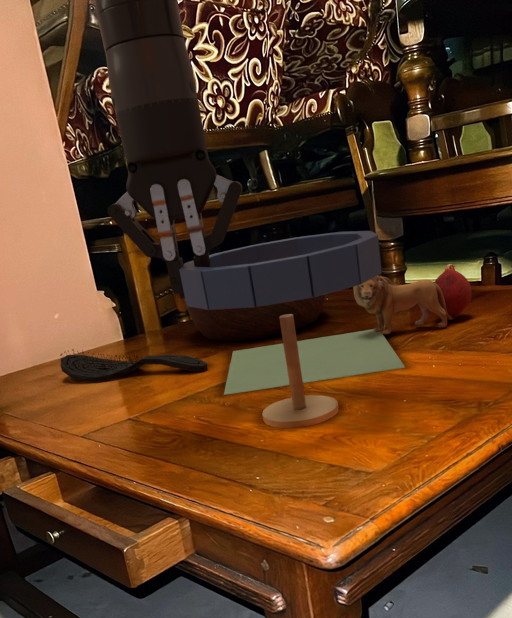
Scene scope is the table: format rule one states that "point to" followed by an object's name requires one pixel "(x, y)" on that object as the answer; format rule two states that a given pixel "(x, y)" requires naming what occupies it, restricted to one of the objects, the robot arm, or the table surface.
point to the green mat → (312, 361)
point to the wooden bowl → (254, 319)
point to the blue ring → (282, 271)
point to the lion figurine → (400, 300)
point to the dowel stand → (297, 390)
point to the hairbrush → (121, 365)
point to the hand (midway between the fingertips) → (194, 295)
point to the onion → (454, 291)
